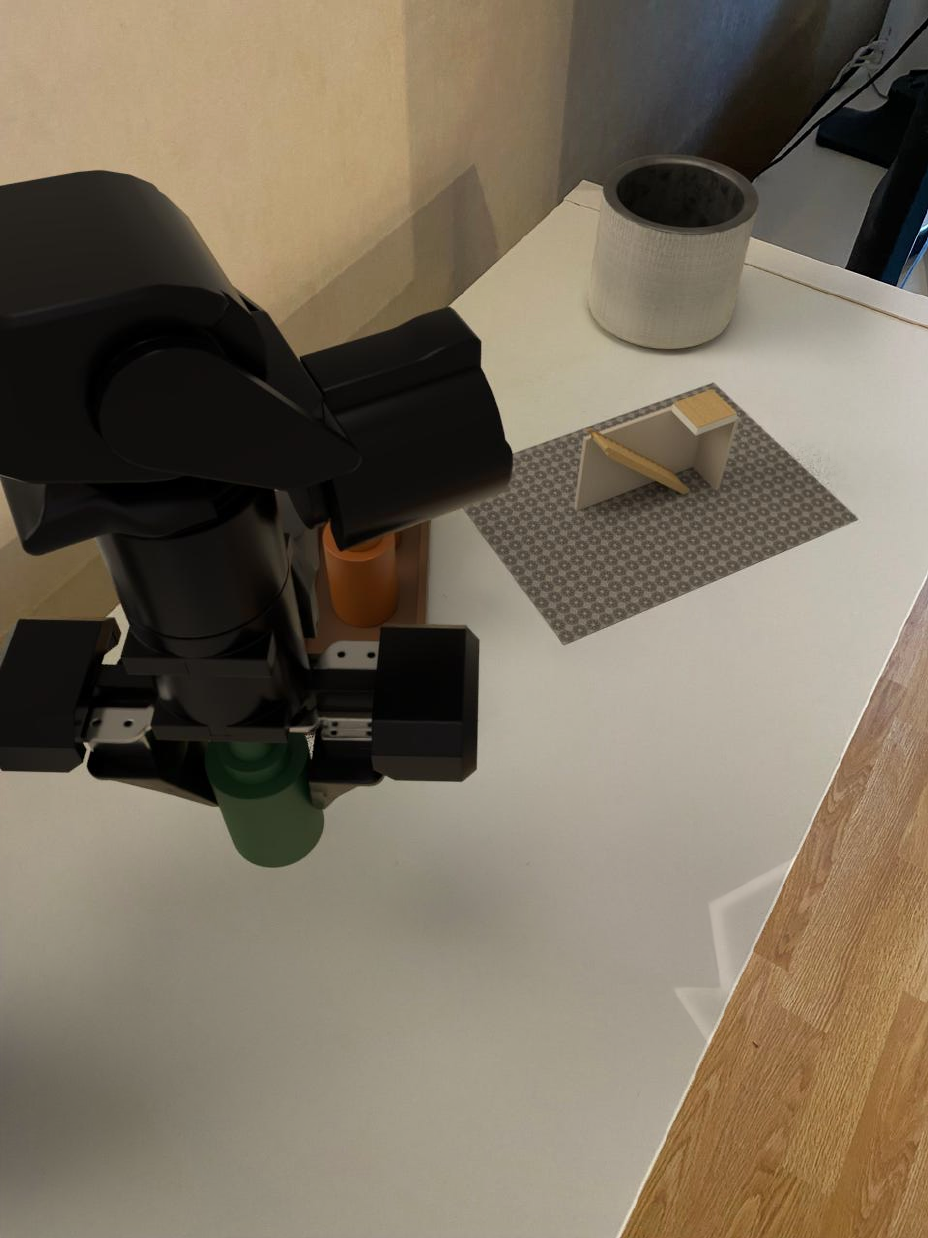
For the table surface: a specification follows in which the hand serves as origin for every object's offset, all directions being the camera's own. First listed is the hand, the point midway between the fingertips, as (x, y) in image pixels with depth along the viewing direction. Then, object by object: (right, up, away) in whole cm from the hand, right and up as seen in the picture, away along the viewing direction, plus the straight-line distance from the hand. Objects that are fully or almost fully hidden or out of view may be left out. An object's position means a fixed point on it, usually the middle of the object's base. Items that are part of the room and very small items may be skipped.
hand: (271, 798), depth 46 cm
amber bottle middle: (+2, +9, +21) cm, 23 cm away
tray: (+2, +9, +22) cm, 24 cm away
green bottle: (0, -2, +2) cm, 2 cm away
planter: (+26, +35, +43) cm, 61 cm away
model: (+22, +17, +29) cm, 40 cm away
